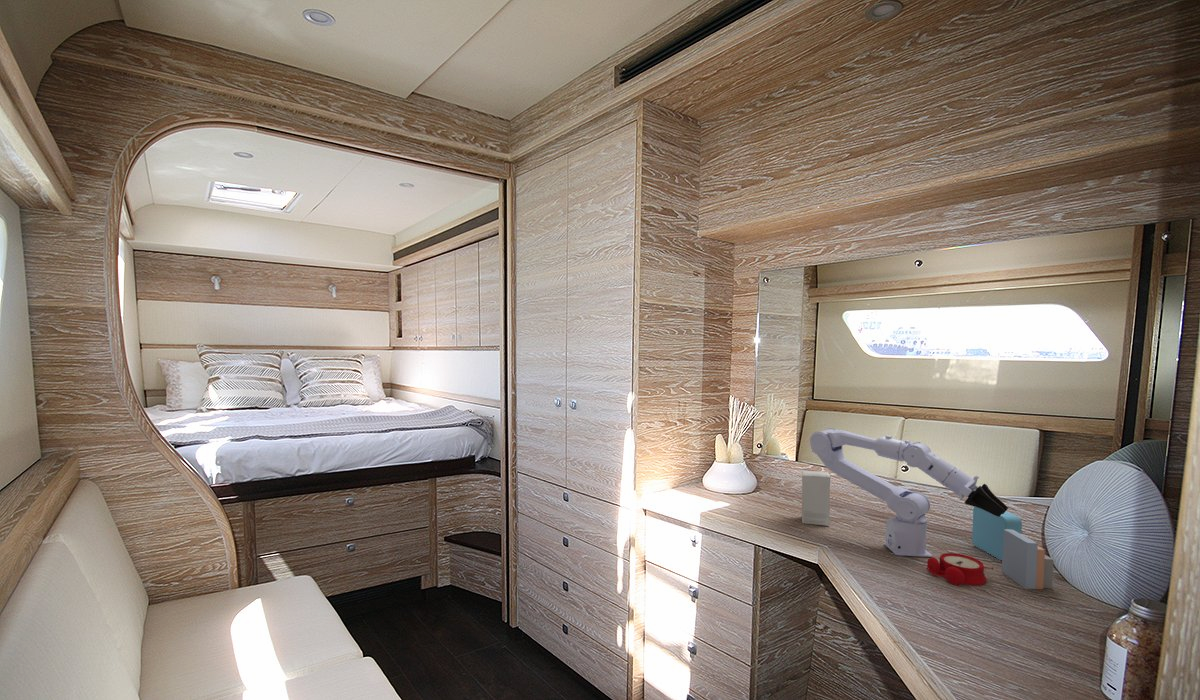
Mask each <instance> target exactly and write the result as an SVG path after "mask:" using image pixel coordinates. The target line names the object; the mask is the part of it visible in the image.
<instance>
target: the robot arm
mask: <svg viewBox="0 0 1200 700" xmlns="http://www.w3.org/2000/svg"><path fill="white" fill-rule="evenodd" d="M809 443H810V449H811V451H812V452H813V453H814V454H815V455H816V456H817V457H818V458H819V459H820V460H821V463H823V464H824V466H825V467H826V469H827V470H829V471H830V472H831V473H834V474H835V475H838V476H839V477H841V478H843V479H844V480H846V481H848V482H849V483H851V484H853V485H856V486H857V487H858V488H860V489H863V490H864V491H866V492H868V493H869V494H871V495H872V496H874V497H876V498H878V499H879V500H882V501H883V502H885V503H886V505H887V508H888V509H890V510H892V511H893V512H894V513H895V514H896V516H895V517H889V518H887V520H886V524H885V540H884V541H885V542H884V543H883V544H884V545H885V547H887V548H888V549H889V550H890V551H891V552H892V553H893V554H894V555H895V556H904V557H906V556H907V557H923V558H924V557H925V558H931V557H933V555H932V554H931V553H930V552H929V551H928V550H927V534H928V533H927V531H928V529H927V528H928V519H927V517H926V514H927V513H928V512H929V511H930V508H931V503H930V500H929V498H928V497H927V496H926V495H925V494H924V493H922V492H919V491H911V490H909V489H907V488H905V487H899V486H896V485H894V484H892V483H890V482H889V481H886V480H885V479H883V478H881V477H879V476H877V475H875V474H874V473H872V472H870V471H868V470H866V469H864V468H862V467H861V466H859V465H857V464H855V463H854V462H851V461H850V460H848V459H846V458H845V457H844V454H843V453H844V452H843V446H844V445H847V446H852V447H857V448H862V449H866V450H871V451H874V452H875V453H876V454H877V456H879V457H881V458H886V459H889V460H893V461H898V462H901V463H904V462H905V463H906V465H907V466H908V467H911V468H917V469H919V470H920V471H921V472H923V473H925V474H926V475H927V476H929V477H930V478H932V480H933V479H934V480H935V481H936V482H938V483H939V484H941V485H942V486H944V487H945V488H946V489H948V490H949V491H951V492H952V493H954V494H955V495H957V496H958V497H959V498H960V499H964V498H966V499H965V501H964V504H965V505H968V506H971V507H974V506H975V507H978V508H980V509H983V510H985V511H987V512H989V513H991V514H993V515H995V516H998V517H1000V516H1001V514H1004V513H1005V511H1006V512H1007V510H1008V509H1009V507H1008V506H1007V505H1006V504H1005V503H1004V502H1003V501H1001V499H999V498H998V497H997V496H996V495H995V493H993V492H992V491H991V489H990V487H989V486H988V485H987V484H986V483H983V484H982V486H981V485H979V486H978V485H977V483H978V480H979V478H980V476H979V475H974V477H972V476H970V475H968V474H967V473H965V472H964V471H962V470H961V469H958V468H957V467H956V466H955V465H953V464H951V463H950V462H949V461H946V460H945V458H942V457H941V456H939V455H937V454H935V453H934V452H932V450H931V449H930V447H929V446H928V445H926V444H925V443H922V442H920V441H917V442H913V443H912V442H911V440H910V439H909V440H908V439H906V440H903V439H902V440H901V439H896V438H893V436H892V435H889V434H886V435H885V436H884V435H883V436H880V437H879V438H874V437H870V436H866V435H862V434H858V433H855V432H852V431H848V430H844V429H836V428H833V427H832V428H828V429H827V428H826V429H824V430H819V431H815V432H813V433H811V436H810V437H809Z"/></svg>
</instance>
